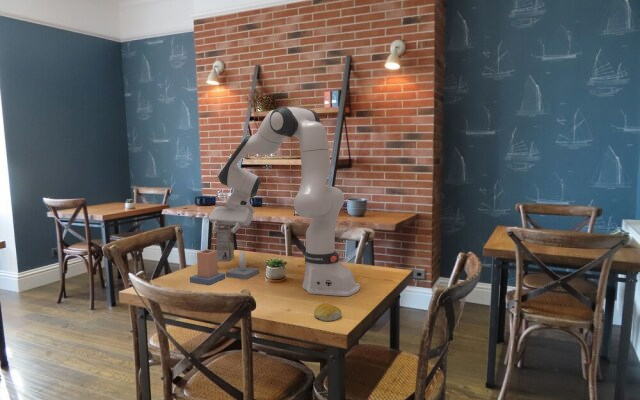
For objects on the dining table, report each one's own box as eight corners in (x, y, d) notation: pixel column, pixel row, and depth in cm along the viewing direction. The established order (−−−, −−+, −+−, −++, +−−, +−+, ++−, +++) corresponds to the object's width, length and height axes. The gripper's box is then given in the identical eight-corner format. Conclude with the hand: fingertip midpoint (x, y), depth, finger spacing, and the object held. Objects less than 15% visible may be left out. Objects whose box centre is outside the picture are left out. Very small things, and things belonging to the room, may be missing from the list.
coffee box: (221, 256, 222) (220, 224, 220) (234, 256, 222) (233, 224, 220) (216, 261, 213) (215, 228, 211) (230, 261, 212) (229, 228, 210)
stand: (259, 273, 193) (258, 250, 192) (246, 279, 184) (245, 255, 183) (239, 270, 197) (239, 248, 196) (226, 276, 188) (225, 253, 187)
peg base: (225, 278, 186) (224, 256, 185) (209, 285, 177) (208, 262, 176) (205, 275, 190) (205, 254, 189) (189, 282, 181) (189, 259, 180)
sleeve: (217, 274, 184) (216, 250, 183) (209, 278, 179) (208, 253, 178) (206, 272, 187) (205, 249, 186) (197, 276, 182) (196, 252, 180)
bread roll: (328, 309, 151) (328, 298, 150) (345, 317, 143) (345, 306, 143) (308, 315, 146) (308, 303, 145) (324, 324, 139) (324, 311, 138)
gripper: (213, 200, 201) (200, 225, 193) (252, 202, 192) (239, 229, 185) (220, 209, 205) (207, 233, 198) (258, 211, 197) (246, 237, 189)
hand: (223, 231), depth 191 cm, fingers open, 8 cm apart
